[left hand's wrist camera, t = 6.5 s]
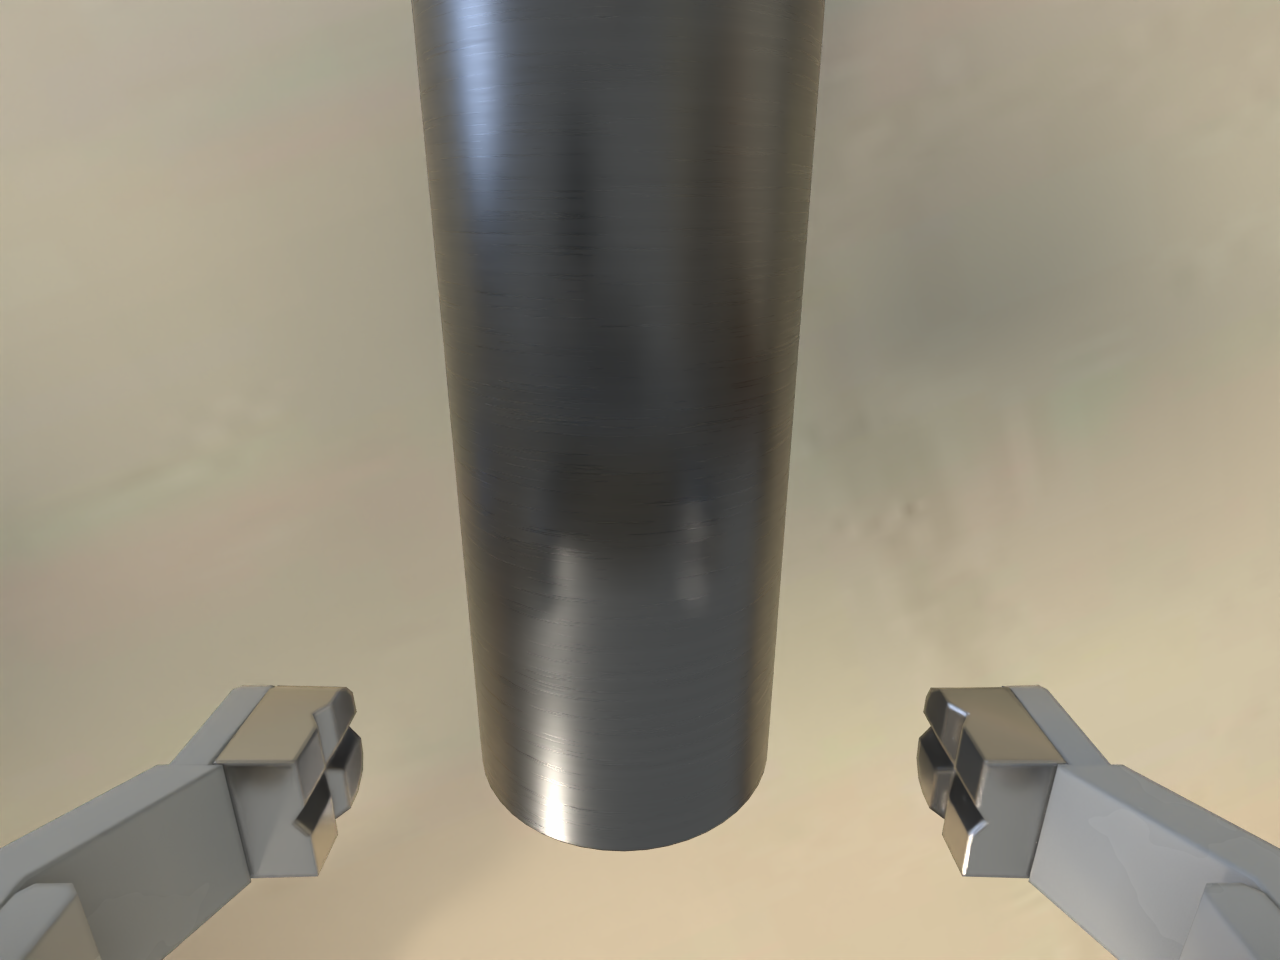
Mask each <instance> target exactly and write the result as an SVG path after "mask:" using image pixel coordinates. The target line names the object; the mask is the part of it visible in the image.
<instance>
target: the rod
mask: <svg viewBox="0 0 1280 960" xmlns="http://www.w3.org/2000/svg"><path fill="white" fill-rule="evenodd" d="M411 1H412V12H413V22H414V33H415V44H416V54H417V65H418V76H419V86H420V97H421V108H422V118H423V129H424V140H425V150H426V161H427V172H428V182H429V193H430V204H431V214H432V225H433V236H434V246H435V257H436V268H437V278H438V289H439V300H440V310H441V321H442V332H443V342H444V353H445V364H446V374H447V385H448V396H449V406H450V417H451V428H452V438H453V449H454V460H455V470H456V481H457V492H458V502H459V513H460V524H461V534H462V545H463V556H464V566H465V577H466V588H467V598H468V609H469V620H470V630H471V641H472V652H473V662H474V673H475V684H476V694H477V705H478V716H479V726H480V737H481V748H482V758H483V765H484V770H485V774H486V777H487V779H488V781H489V784H490V786H491V788H492V790H493V791H494V793H495V794H496V796H497V797H498V799H499V800H500V802H501V803H502V804H503V805H504V806H505V807H506V808H507V809H508V810H509V811H510V812H511V813H512V814H513V815H514V816H515V817H517V818H518V819H519V820H521V821H522V822H523V823H524V824H526V825H527V826H529V827H531V828H533V829H535V830H536V831H538V832H540V833H542V834H544V835H546V836H549V837H551V838H554V839H556V840H558V841H561V842H565V843H568V844H572V845H576V846H579V847H584V848H591V849H597V850H608V851H636V850H648V849H654V848H660V847H665V846H670V845H673V844H677V843H680V842H683V841H687V840H690V839H692V838H694V837H697V836H699V835H701V834H704V833H706V832H708V831H710V830H711V829H713V828H715V827H716V826H718V825H720V824H722V823H723V822H725V821H726V820H727V819H728V818H730V817H731V816H732V815H733V814H735V813H736V812H737V811H738V810H739V809H740V808H741V807H742V806H743V805H744V804H745V803H746V802H747V801H748V799H749V798H750V797H751V795H752V794H753V792H754V791H755V789H756V788H757V786H758V784H759V782H760V780H761V777H762V775H763V773H764V769H765V765H766V760H767V749H768V736H769V723H770V710H771V697H772V684H773V671H774V658H775V645H776V632H777V619H778V606H779V593H780V580H781V567H782V554H783V541H784V528H785V515H786V502H787V489H788V476H789V463H790V450H791V437H792V424H793V411H794V398H795V385H796V372H797V359H798V346H799V333H800V320H801V307H802V294H803V281H804V268H805V255H806V242H807V229H808V216H809V203H810V190H811V177H812V164H813V151H814V138H815V125H816V112H817V99H818V86H819V73H820V60H821V47H822V34H823V21H824V8H825V0H411Z"/></svg>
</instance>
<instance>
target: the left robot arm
mask: <svg viewBox="0 0 1280 960" xmlns="http://www.w3.org/2000/svg"><path fill="white" fill-rule="evenodd" d="M356 712H357V711H356V706H355V702H354V697H353V692H352V691H350V690H349V689H348V688H347V687H324V686H279V685H278V686H272V685H242V686H240V687H237V688H234V689H233V690H232V691H231V692H230V693H229V694H228V695H227V697H226V698H225V699H224V700H223V701H222V703H221V704H220V705H219V706H218V707H217V708H216V710H215V711H214V712H213V713H212V714H211V716H210V717H209V718H208V719H207V720H206V722H205V723H204V724H203V725H202V726H201V727H200V729H199V730H198V731H197V732H196V733H195V735H194V736H193V737H192V738H191V739H190V740H189V742H188V743H187V744H186V745H185V746H184V748H183V749H182V750H181V751H180V752H179V754H178V755H177V756H176V757H175V758H174V759H173V761H172V762H171V763H170V764H169V765H156V766H154V767H152V768H150V769H149V770H147V771H145V772H143V773H141V774H139V775H137V776H135V777H134V778H132V779H130V780H128V781H126V782H124V783H122V784H120V785H118V786H117V787H115V788H113V789H111V790H109V791H107V792H105V793H103V794H102V795H100V796H98V797H96V798H94V799H92V800H90V801H88V802H87V803H85V804H83V805H81V806H79V807H77V808H75V809H73V810H72V811H70V812H68V813H66V814H64V815H62V816H60V817H58V818H57V819H55V820H53V821H51V822H49V823H47V824H45V825H43V826H41V827H40V828H38V829H36V830H34V831H32V832H30V833H28V834H26V835H25V836H23V837H21V838H19V839H17V840H15V841H13V842H11V843H10V844H8V845H6V846H4V847H2V848H0V960H162V959H163V958H165V957H166V956H167V955H168V954H169V953H170V952H171V951H173V950H174V949H175V948H176V947H177V946H178V945H179V944H181V943H182V942H183V941H184V940H185V939H186V938H187V937H189V936H190V935H191V934H192V933H193V932H194V931H196V930H197V929H198V928H199V927H200V926H201V925H202V924H204V923H205V922H206V921H207V920H208V919H209V918H210V917H212V916H213V915H214V914H215V913H216V912H217V911H218V910H220V909H221V908H222V907H223V906H224V905H225V904H226V903H228V902H229V901H230V900H231V899H232V898H233V897H234V896H236V895H237V894H238V893H239V892H240V891H241V890H243V889H244V888H245V887H246V886H247V885H248V884H249V883H251V878H275V877H309V876H318V875H319V873H320V871H321V869H322V867H323V864H324V862H325V860H326V858H327V856H328V854H329V852H330V850H331V848H332V846H333V844H334V842H335V840H336V838H337V836H338V832H337V826H336V820H335V819H336V818H338V817H339V816H341V815H342V814H343V813H345V812H346V811H347V810H349V809H350V808H351V806H352V804H353V802H354V799H355V797H356V795H357V793H358V790H359V785H360V781H361V776H362V771H363V749H362V742H361V738H360V737H359V736H358V735H357V734H356V733H355V732H354V731H353V730H352V729H351V728H350V727H349V725H350V723H351V721H352V720H353V718H354V716H355V714H356ZM923 712H924V714H925V716H926V718H927V720H928V721H929V723H930V725H931V727H930V728H929V729H928V730H927V731H926V732H925V733H924V734H923V735H922V736H921V737H920V738H919V743H918V751H917V768H918V778H919V782H920V786H921V789H922V793H923V795H924V797H925V799H926V802H927V804H928V806H929V808H930V809H931V810H933V811H934V812H935V813H937V814H938V815H939V816H941V817H942V818H944V819H945V820H944V826H943V832H942V836H943V838H944V840H945V842H946V844H947V846H948V848H949V850H950V852H951V854H952V856H953V858H954V860H955V862H956V864H957V866H958V868H959V870H960V873H961V875H962V876H969V877H1004V878H1029V882H1030V883H1031V884H1032V885H1033V886H1034V887H1036V888H1037V889H1038V890H1039V891H1040V892H1041V893H1042V894H1044V895H1045V896H1046V897H1047V898H1048V899H1049V900H1050V901H1052V902H1053V903H1054V904H1055V905H1056V906H1057V907H1058V908H1060V909H1061V910H1062V911H1063V912H1064V913H1065V914H1066V915H1068V916H1069V917H1070V918H1071V919H1072V920H1073V921H1074V922H1076V923H1077V924H1078V925H1079V926H1080V927H1081V928H1082V929H1084V930H1085V931H1086V932H1087V933H1088V934H1089V935H1090V936H1092V937H1093V938H1094V939H1095V940H1096V941H1097V942H1098V943H1100V944H1101V945H1102V946H1103V947H1104V948H1105V949H1106V950H1108V951H1109V952H1110V953H1111V954H1112V955H1113V956H1115V957H1116V958H1117V959H1118V960H1280V849H1279V848H1278V847H1276V846H1274V845H1272V844H1270V843H1268V842H1266V841H1264V840H1263V839H1261V838H1259V837H1257V836H1255V835H1253V834H1251V833H1249V832H1248V831H1246V830H1244V829H1242V828H1240V827H1238V826H1236V825H1234V824H1233V823H1231V822H1229V821H1227V820H1225V819H1223V818H1221V817H1219V816H1218V815H1216V814H1214V813H1212V812H1210V811H1208V810H1206V809H1204V808H1203V807H1201V806H1199V805H1197V804H1195V803H1193V802H1191V801H1190V800H1188V799H1186V798H1184V797H1182V796H1180V795H1178V794H1176V793H1175V792H1173V791H1171V790H1169V789H1167V788H1165V787H1163V786H1161V785H1160V784H1158V783H1156V782H1154V781H1152V780H1150V779H1148V778H1146V777H1145V776H1143V775H1141V774H1139V773H1137V772H1135V771H1133V770H1131V769H1130V768H1128V767H1126V766H1124V765H1111V764H1110V763H1109V762H1108V761H1107V759H1106V758H1105V757H1104V756H1103V755H1102V754H1101V752H1100V751H1099V750H1098V749H1097V748H1096V746H1095V745H1094V744H1093V743H1092V742H1091V741H1090V739H1089V738H1088V737H1087V736H1086V735H1085V733H1084V732H1083V731H1082V730H1081V729H1080V728H1079V726H1078V725H1077V724H1076V723H1075V722H1074V720H1073V719H1072V718H1071V717H1070V716H1069V714H1068V713H1067V712H1066V711H1065V710H1064V709H1063V707H1062V706H1061V705H1060V704H1059V703H1058V701H1057V700H1056V699H1055V698H1054V697H1053V696H1052V694H1051V693H1050V692H1049V691H1048V690H1047V689H1046V688H1044V687H1042V686H1040V685H1020V686H1002V687H957V688H930V690H929V692H928V694H927V696H926V700H925V706H924V711H923Z"/></svg>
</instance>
